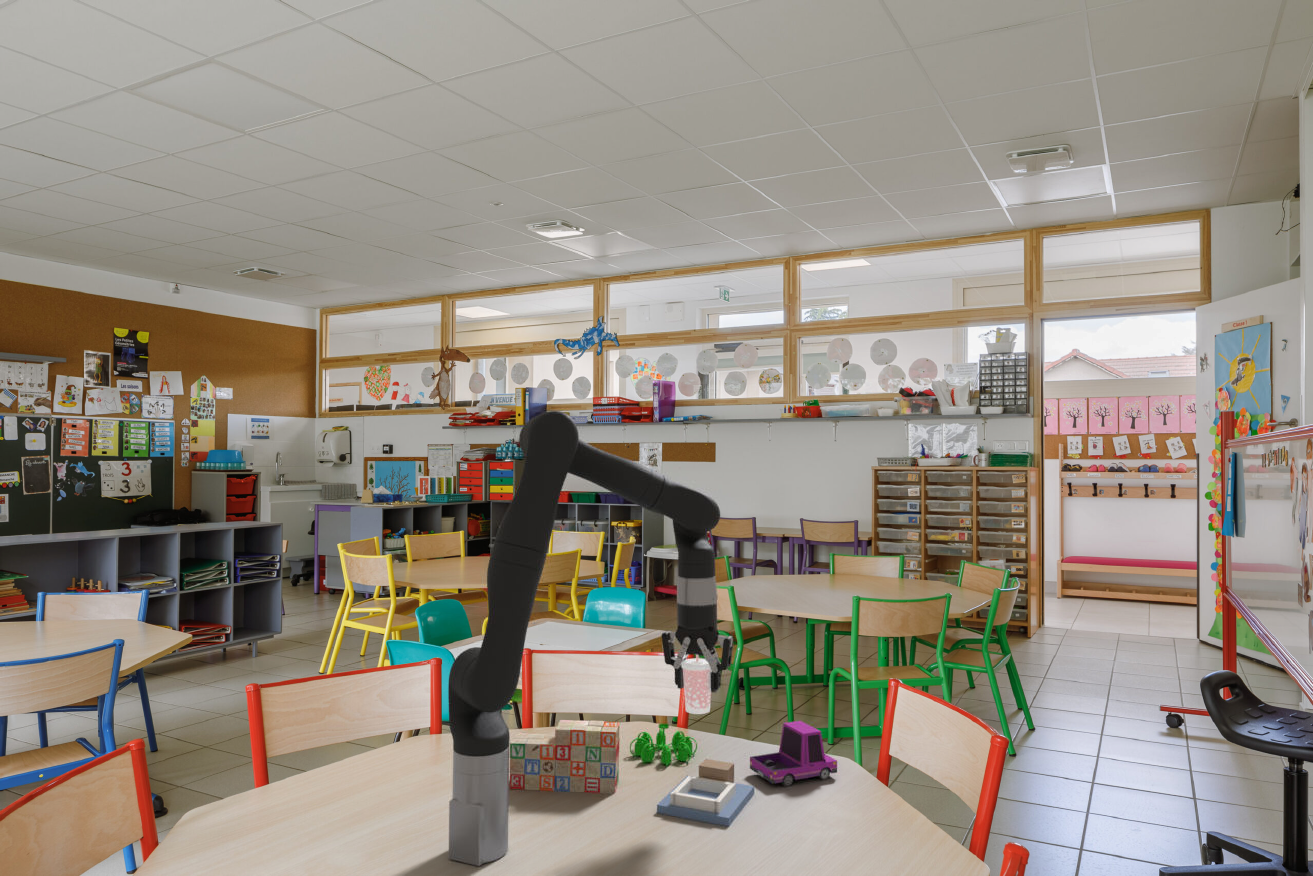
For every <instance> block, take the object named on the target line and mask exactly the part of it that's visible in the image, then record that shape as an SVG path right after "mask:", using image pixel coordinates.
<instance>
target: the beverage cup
mask: <svg viewBox="0 0 1313 876" xmlns="http://www.w3.org/2000/svg"><path fill="white" fill-rule="evenodd" d="M699 656H700V655H697V654H695V658H688V659H686V660H683V662H682V663H681V665H682V666H681V667H682V668H683V679H684V687H683V689H684V690H683V691H684V707H685V712H686V713H689V714H691V715H704V714H708V713H710V712H711V711H710V710H711V699H712V698H711V697H712V692H711V672H712V670H711V668H710V665H709V663H708V662H707V661H706V659H705V658H700V657H699Z"/></svg>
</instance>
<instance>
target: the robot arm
mask: <svg viewBox="0 0 1313 876" xmlns="http://www.w3.org/2000/svg"><path fill="white" fill-rule="evenodd" d="M518 442H519V448H520V450H521V452H522V454H523V455H524V457H525V459H524V463H523V468H522V474H521V476H520V481H519V484H518V487H517V490H516V492H515V493H514V496H513V498H512V500H511V502H510V503H509V505H508V506H507V507H508V508H507V509H506V512H505V514H504V516H503V518H502V520H501V522H500V525H499V527H498V530H497V533H496V535H495V538H494V543H493V544H492V549H491V552H490V556H489V561H488V564H487V569H486V570H487V573H486V574H487V575H486V591H487V592H486V594H487V607H488V608H487V609H488V610H487V611H488V613H487V622H486V627H485V633H484V634H483V635H484V636H483V639H482V643H481V645H480V646H479V647H477V646H476V647H475V646H474V647H470V648H466V649H465V650H463V651H462V652H461V653H460V654H459V655H457V657H456V658H455V659H454V660H453V663H452V665H451V668H450V671H449V674H448V688H447V689H448V691H447V692H448V695H447V696H448V724H449V725H448V726H449V729H450V733H451V736H452V743H453V745H452V746H453V747H452V796H451V797H452V799H450V800H449V805H448V806H449V807H448V811H449V813H448V860H452V861H456V862H461V863H465V864H468V865H472V866H473V865H474V866H477V867H480V866H482V865H483V864H486V863H490V862H493V861H496V860H498V859H500V858H502V857H504V856H505V855H506V853H508V850H509V813H510V812H509V811H510V810H509V805H510V804H509V803H510V802H509V800H510V799H509V798H510V797H509V795H510V787H509V784H510V740H511V739H510V730H509V729H510V728H509V727H508V726H507V724H506V722H505V719H504V717H503V714H502V712H501V710H502V709H504V707H506V706H507V705H508V704H509V703H510V701H511V700H512V698H513V697H514V695H515V694H516V693H515V692H516V691H517V687H518V684H519V680H520V675H521V667H522V662H523V655H524V649H525V642H526V638H527V631H528V628H529V623H530V619H531V616H532V611H533V608H534V603H535V599H536V595H537V592H538V587H539V584H540V580H541V577H542V574H543V570H544V567H545V563H546V559H547V555H548V552H549V546H550V542H551V537H552V534H553V530H554V524H555V520H556V515H557V510H558V505H559V502H560V501H559V500H560V496H561V493H562V490H563V486H564V484H565V481H566V479H567V476H568V474H570V475H573V476H576V477H578V478H580V479H583V480H586V481H587V482H591V483H593V484H595V485H597V486H599V487H602V488H603V489H605V490H607V491H609V492H611V493H613V494H614V495H617V496H619V497H621V498H622V499H624V500H627V501H629V502H631V503H633V504H635V505H637V506H638V507H641V508H642V509H645V510H647V511H650V512H652V513H655V514H657V515H662V516H665V517H666V518H669V519H671V520H672V526H673V533H674V539H675V544H676V547H677V548H676V549H677V584H676V586H677V587H676V602H677V603H676V611H677V612H676V622H677V623H676V624H677V627H676V630H675V631H671V630H666V631H664V632H663V633H662V634H661V642H662V649H663V657H664V664H666V665H670V666H672V667H673V668H674V684H675V686H677V689H684V679H683V668H682V667H681V666H682V665H681V663H682V662H683V660H687V658H688V657H689V655H690V656H691V655H696V654H697V655H699V656H700V657H701V656H702V657H704V659H706V661H707V662H708V663H709V665H710V668H711V670H712V672H711V693H716V692H718V690H719V689H721V685H722V682H721V681H722V679H721V678H722V677H721V676H722V671H727V669H729V668H730V667H731V665H732V658H733V652H734V651H733V649H734V641H735V639H734V638H735V637H734V636H732V635H729V636H726V635H722V634H720V633H719V631H718V594H717V593H718V587H717V581H716V554H715V550H714V548H713V546H711V544H710V542H709V538H708V537H709V536H708V532H711V531H712V530H713V529H715V528H716V527H717V525H718V524H719V522H720V519H721V510H720V507H719V505H718V503H717V501H715V500H714V498H713V497H711V496H709V495H707V494H705V493H703V492H701V491H698V490H696V489H693V488H690V487H688V486H685V485H683V484H680V483H677V482H676V481H674V480H671V479H670V478H668V477H667V476H665V475H663V474H662V473H660V472H657V471H655V470H653V469H651V468H649V467H647V466H645V465H643V464H641V463H639V462H635V461H634V460H631V459H628V458H624V457H621V456H618V455H616V454H613V453H609V452H607V451H604V450H602V449H599V448H598V447H594V446H593V445H591V444H589V443H587V442H585V441H584V440H582V439H580V438H579V430H578V427H577V424H576V423H575V421H574V419H573V418H572V417H571V416H569V415H568V414H567V413H565V412H562V411H560V410H559V411H558V410H551V411H546V412H542V413H540V414H538V415H536V416H534V417H532V418H531V419H530V420H528V421H527V422H526V423H525V424H524V425H523V426H522V428H521V430H520V432H519V438H518ZM676 640H677V642H678V643H679V644H680V645H681V646H680V648H679V651H678V653H677V654H675V653H676V652H675V645H674V643H675V642H676ZM717 643H719V644H720V645H719V646H720V648H722V651H721V660H720V659H719V655H718V652H717V648H716V647H715V646H716V644H717Z"/></svg>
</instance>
